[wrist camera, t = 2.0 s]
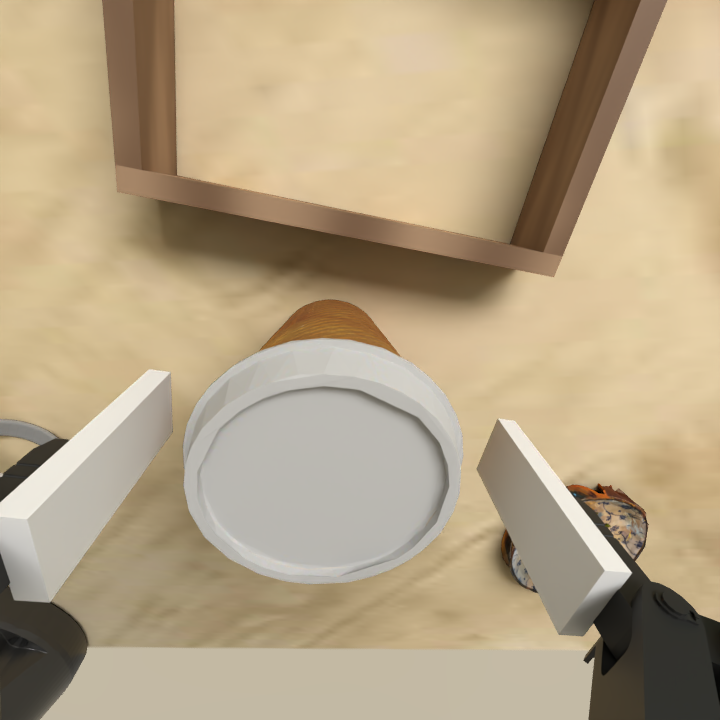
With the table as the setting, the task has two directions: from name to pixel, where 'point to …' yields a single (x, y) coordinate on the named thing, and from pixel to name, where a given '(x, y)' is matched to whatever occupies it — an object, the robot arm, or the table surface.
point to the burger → (611, 509)
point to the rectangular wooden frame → (525, 252)
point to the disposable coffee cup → (323, 453)
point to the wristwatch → (25, 432)
